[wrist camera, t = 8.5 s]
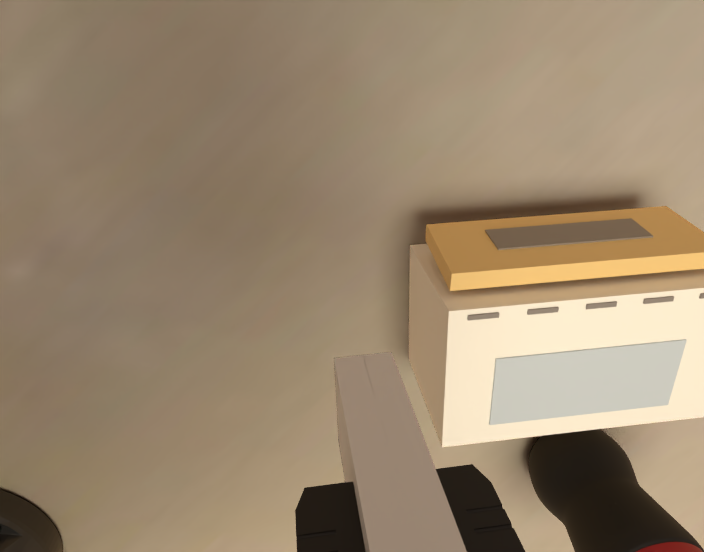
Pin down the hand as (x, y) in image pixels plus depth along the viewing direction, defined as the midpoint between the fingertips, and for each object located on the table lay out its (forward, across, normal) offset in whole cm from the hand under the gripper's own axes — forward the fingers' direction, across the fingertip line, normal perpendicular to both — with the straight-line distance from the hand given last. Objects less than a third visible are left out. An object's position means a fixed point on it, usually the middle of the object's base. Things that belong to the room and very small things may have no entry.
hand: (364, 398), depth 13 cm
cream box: (+23, +16, -10) cm, 30 cm away
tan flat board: (+18, +16, -4) cm, 24 cm away
